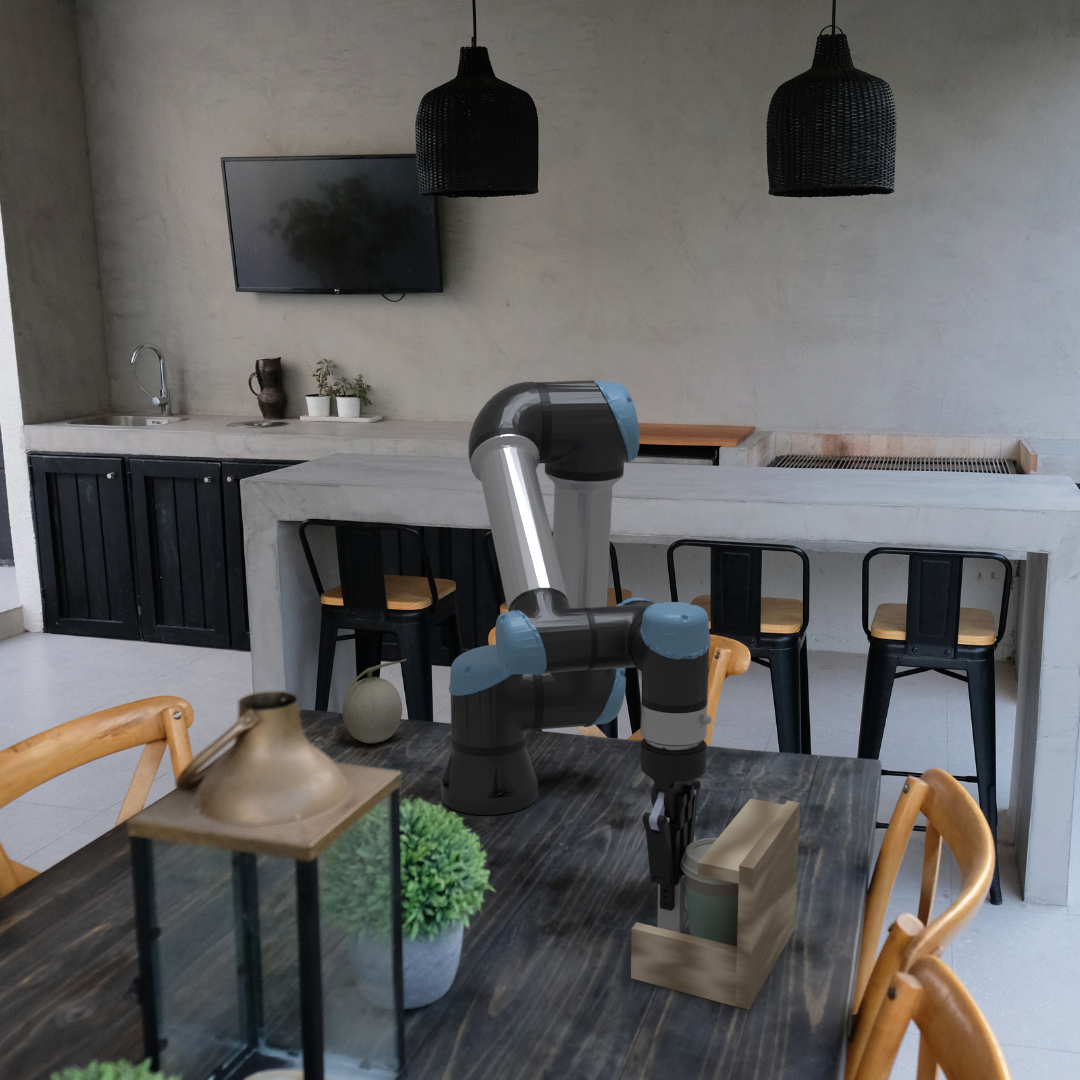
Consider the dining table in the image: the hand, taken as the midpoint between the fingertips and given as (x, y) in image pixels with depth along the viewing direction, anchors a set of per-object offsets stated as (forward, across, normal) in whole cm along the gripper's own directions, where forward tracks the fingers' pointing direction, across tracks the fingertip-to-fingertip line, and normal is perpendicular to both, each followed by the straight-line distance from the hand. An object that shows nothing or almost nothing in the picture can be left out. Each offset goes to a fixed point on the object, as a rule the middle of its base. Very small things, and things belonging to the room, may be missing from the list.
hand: (670, 929), depth 133 cm
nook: (+1, 0, -6) cm, 7 cm away
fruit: (+2, +40, +72) cm, 82 cm away
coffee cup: (+2, +1, -5) cm, 6 cm away
